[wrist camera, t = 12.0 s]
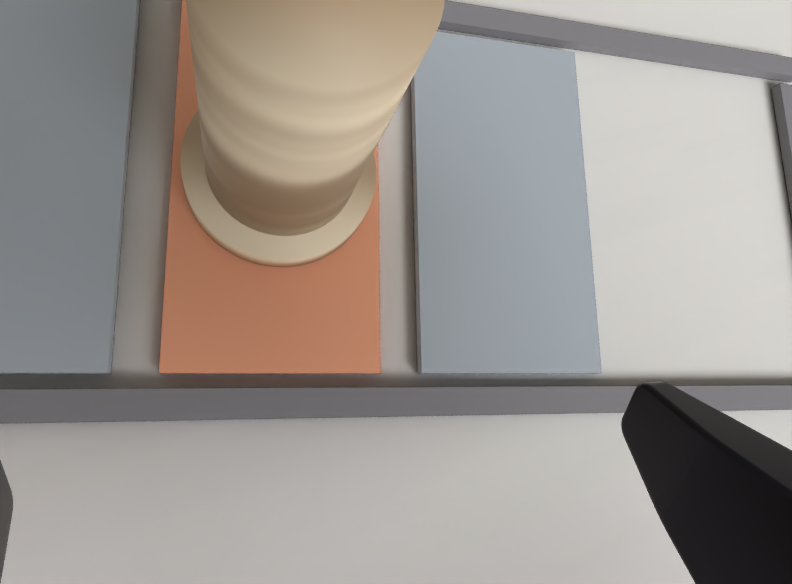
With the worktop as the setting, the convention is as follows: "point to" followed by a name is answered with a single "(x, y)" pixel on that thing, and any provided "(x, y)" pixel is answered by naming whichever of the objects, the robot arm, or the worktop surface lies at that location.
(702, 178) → the worktop surface
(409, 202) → the worktop surface
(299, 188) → the birch pawn
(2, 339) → the game track
